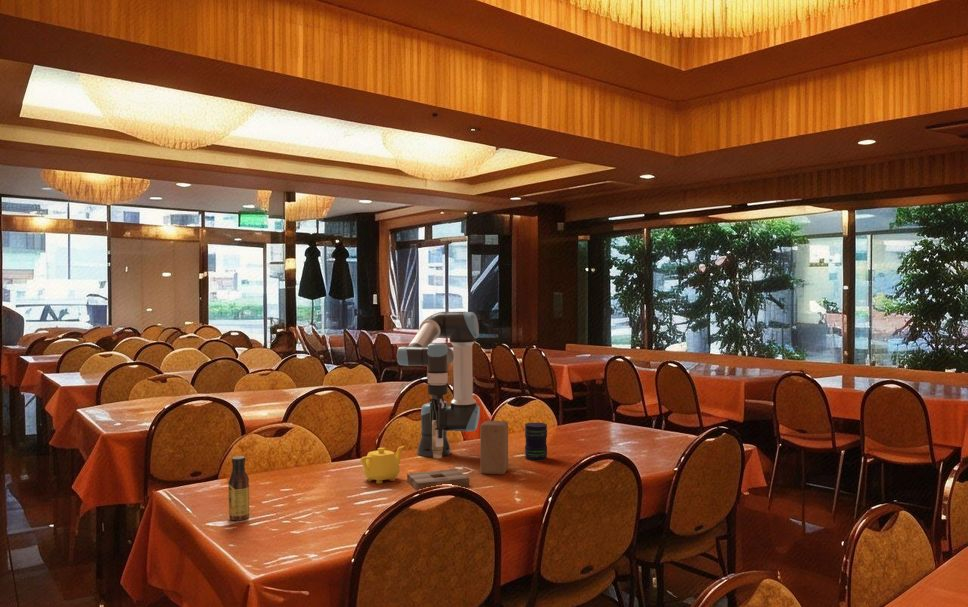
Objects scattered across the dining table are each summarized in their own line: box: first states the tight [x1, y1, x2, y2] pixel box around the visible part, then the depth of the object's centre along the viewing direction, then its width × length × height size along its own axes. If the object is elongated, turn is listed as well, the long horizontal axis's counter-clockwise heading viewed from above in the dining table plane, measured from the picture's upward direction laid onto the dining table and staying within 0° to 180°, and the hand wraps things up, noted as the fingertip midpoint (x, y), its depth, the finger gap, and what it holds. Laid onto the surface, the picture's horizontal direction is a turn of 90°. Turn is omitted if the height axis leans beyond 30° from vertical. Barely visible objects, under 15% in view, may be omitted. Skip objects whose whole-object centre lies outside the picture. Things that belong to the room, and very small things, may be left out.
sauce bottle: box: [228, 455, 250, 521], centre depth 222 cm, size 7×6×20 cm
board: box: [406, 468, 470, 491], centre depth 263 cm, size 15×20×3 cm
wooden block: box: [479, 420, 509, 475], centre depth 281 cm, size 10×10×20 cm
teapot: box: [360, 445, 405, 485], centre depth 269 cm, size 13×20×12 cm
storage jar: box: [524, 422, 548, 462], centre depth 305 cm, size 10×10×15 cm
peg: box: [432, 420, 443, 460], centre depth 263 cm, size 4×4×14 cm
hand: (437, 445), depth 263 cm, fingers closed on peg, 4 cm apart
